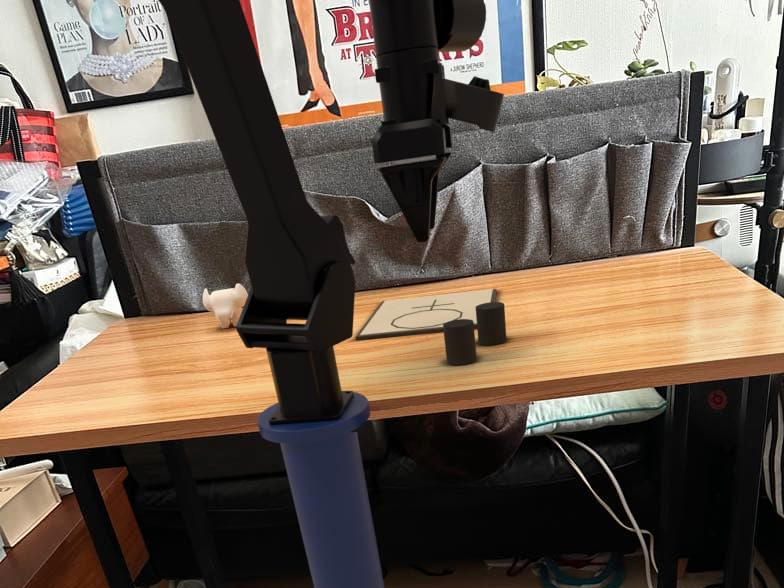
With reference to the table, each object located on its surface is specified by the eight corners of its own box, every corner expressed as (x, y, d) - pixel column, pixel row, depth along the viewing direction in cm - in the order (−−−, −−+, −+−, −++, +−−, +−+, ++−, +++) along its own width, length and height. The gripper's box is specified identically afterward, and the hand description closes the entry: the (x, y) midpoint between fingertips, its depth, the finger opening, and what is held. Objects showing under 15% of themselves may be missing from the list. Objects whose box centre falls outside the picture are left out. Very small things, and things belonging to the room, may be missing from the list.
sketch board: (490, 327, 88) (490, 322, 87) (355, 340, 91) (354, 335, 91) (496, 291, 105) (496, 287, 104) (382, 303, 108) (382, 299, 108)
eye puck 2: (506, 343, 80) (503, 307, 78) (477, 346, 81) (474, 310, 79) (506, 336, 83) (504, 300, 81) (479, 338, 84) (476, 303, 82)
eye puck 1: (475, 363, 76) (472, 325, 74) (445, 366, 76) (441, 328, 74) (477, 355, 78) (474, 317, 76) (448, 357, 79) (444, 320, 77)
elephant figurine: (205, 336, 105) (193, 294, 102) (215, 323, 112) (204, 283, 109) (250, 329, 105) (240, 286, 102) (257, 316, 112) (248, 277, 109)
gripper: (496, 26, 57) (508, 238, 64) (494, 47, 73) (504, 214, 80) (358, 50, 58) (385, 253, 66) (386, 64, 74) (405, 227, 82)
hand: (426, 235), depth 74 cm, fingers open, 9 cm apart
